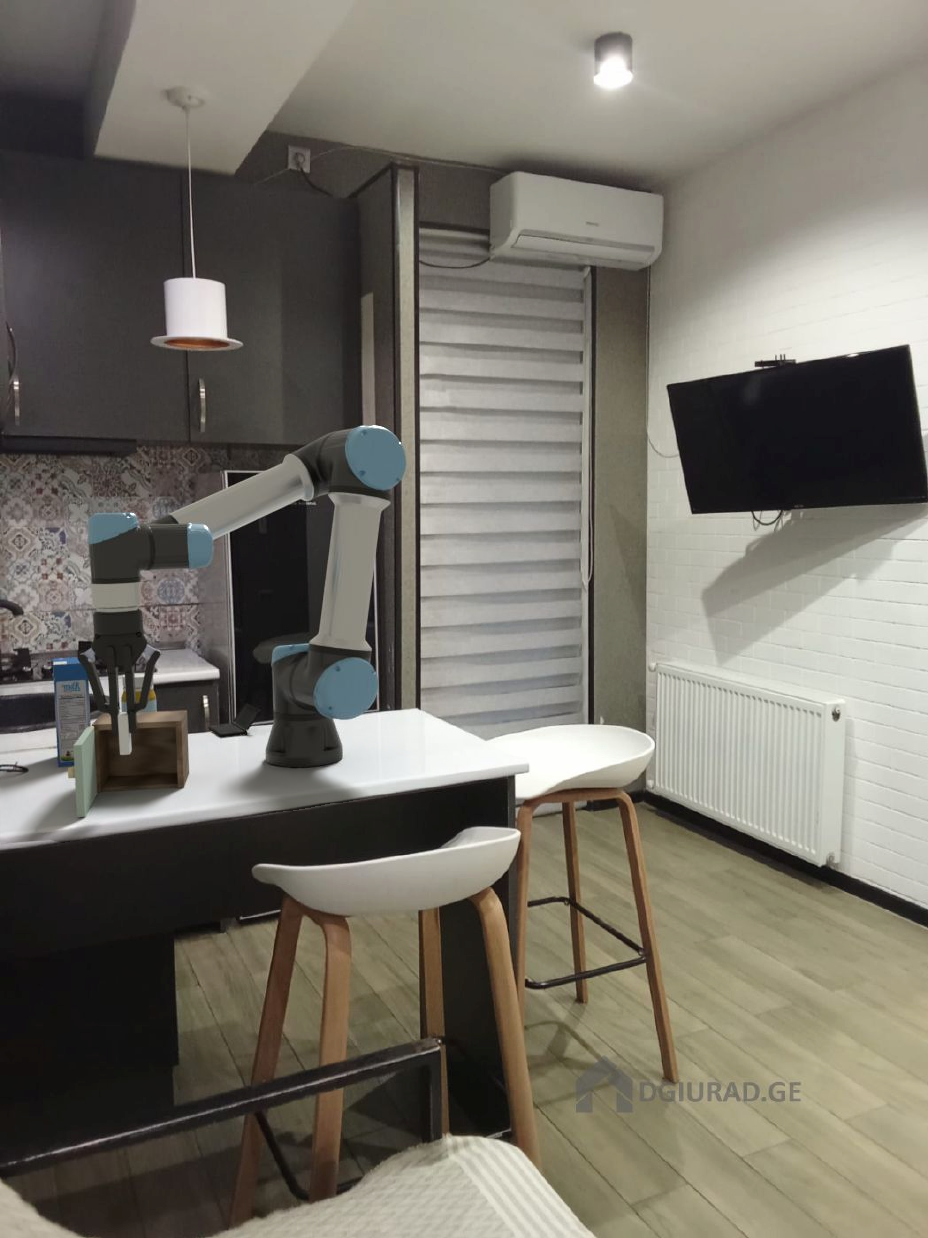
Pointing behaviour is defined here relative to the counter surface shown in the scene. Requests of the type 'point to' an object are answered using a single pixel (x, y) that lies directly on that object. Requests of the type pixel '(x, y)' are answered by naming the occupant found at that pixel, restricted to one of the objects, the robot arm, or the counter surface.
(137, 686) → the bottle
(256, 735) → the counter surface
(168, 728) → the walnut cabinet
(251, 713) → the handheld gaming console
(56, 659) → the milk carton
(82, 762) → the cabinet door
